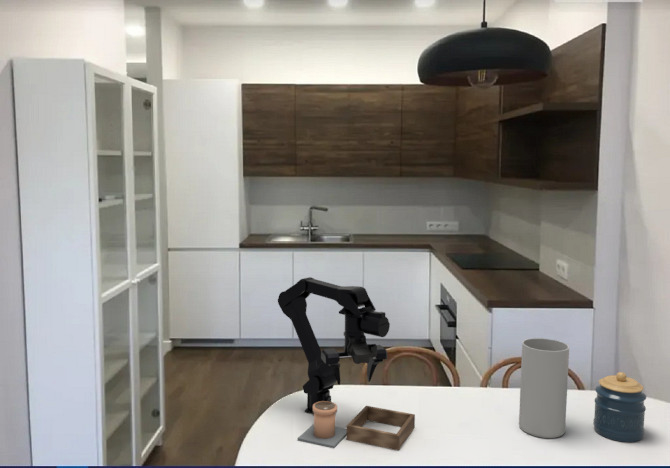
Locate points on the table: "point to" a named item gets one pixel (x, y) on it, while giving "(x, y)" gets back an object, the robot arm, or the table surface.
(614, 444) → the table surface
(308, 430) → the slate mat
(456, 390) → the table surface
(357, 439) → the brown wooden square frame
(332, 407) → the terracotta pot
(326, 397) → the robot arm
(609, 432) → the canister
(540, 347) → the cylinder vase
